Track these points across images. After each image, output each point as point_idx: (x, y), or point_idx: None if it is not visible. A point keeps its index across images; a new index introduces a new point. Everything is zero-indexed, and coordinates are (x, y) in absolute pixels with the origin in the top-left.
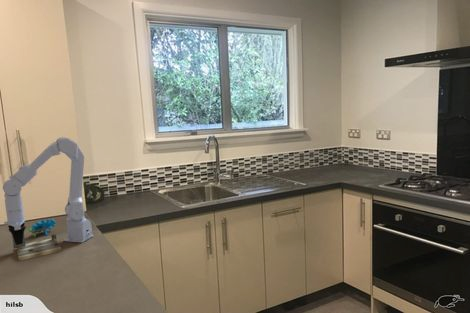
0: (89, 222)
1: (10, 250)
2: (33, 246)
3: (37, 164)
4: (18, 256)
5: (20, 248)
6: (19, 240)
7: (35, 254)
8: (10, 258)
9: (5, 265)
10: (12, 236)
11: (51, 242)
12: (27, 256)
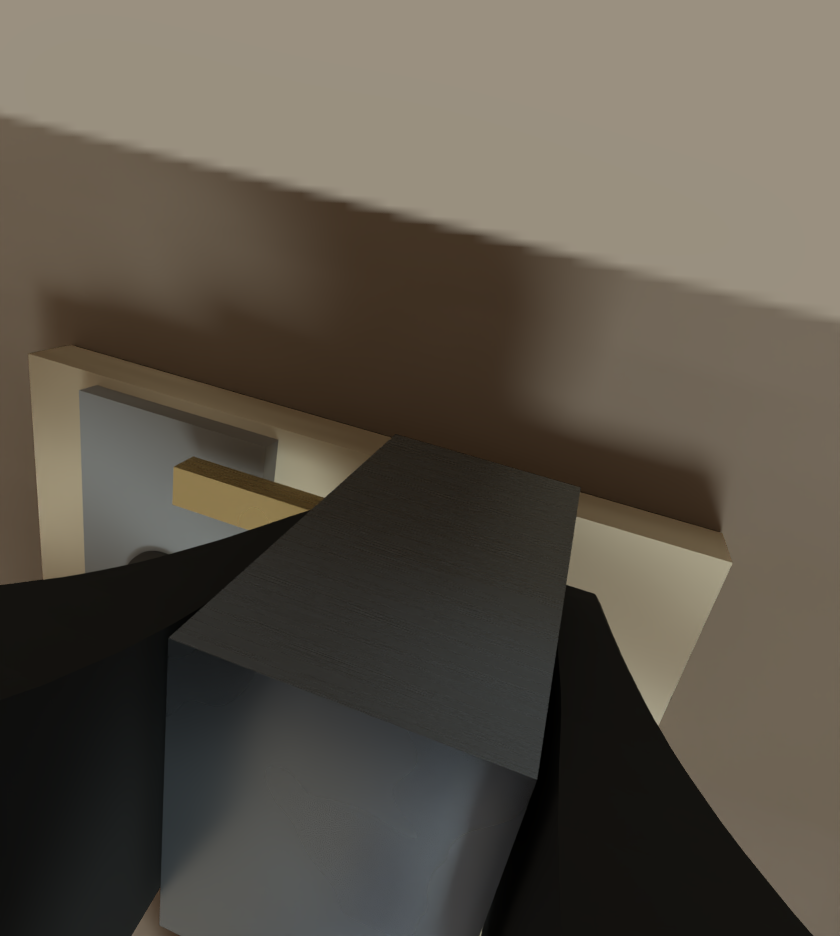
0: None
1: (750, 425)
2: None
3: None
4: (90, 374)
5: (188, 496)
6: None
7: (46, 559)
8: (270, 284)
9: (13, 133)
10: (235, 582)
11: None
12: (46, 466)
